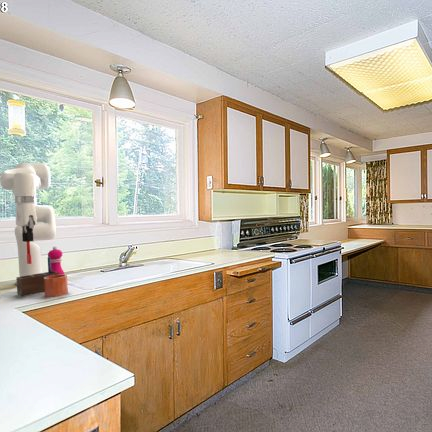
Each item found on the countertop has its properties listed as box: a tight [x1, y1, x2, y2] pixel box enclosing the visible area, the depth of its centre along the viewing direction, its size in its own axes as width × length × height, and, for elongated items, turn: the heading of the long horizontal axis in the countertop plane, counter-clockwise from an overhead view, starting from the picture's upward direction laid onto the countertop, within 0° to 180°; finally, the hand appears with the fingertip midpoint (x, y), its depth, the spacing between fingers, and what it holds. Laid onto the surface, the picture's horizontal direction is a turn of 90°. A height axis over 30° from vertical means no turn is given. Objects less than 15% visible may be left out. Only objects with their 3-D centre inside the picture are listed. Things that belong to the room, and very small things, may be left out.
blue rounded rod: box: [47, 256, 51, 274], centre depth 151 cm, size 3×1×16 cm, turn 57°
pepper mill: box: [47, 246, 66, 274], centre depth 162 cm, size 7×7×20 cm
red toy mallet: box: [27, 242, 32, 264], centre depth 143 cm, size 3×1×16 cm, turn 57°
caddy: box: [15, 271, 59, 297], centre depth 147 cm, size 5×15×9 cm, turn 148°
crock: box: [44, 273, 69, 298], centre depth 142 cm, size 8×8×9 cm
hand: (28, 241), depth 142 cm, fingers closed on red toy mallet, 1 cm apart
